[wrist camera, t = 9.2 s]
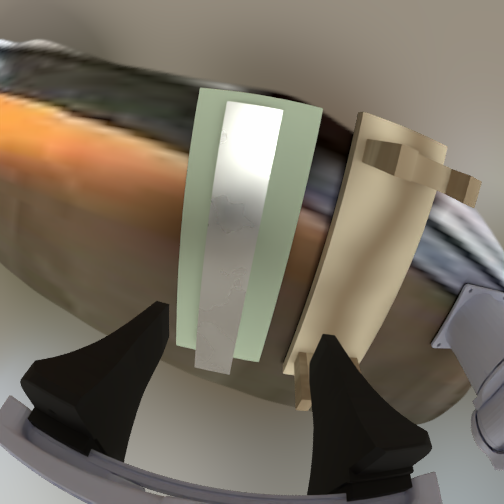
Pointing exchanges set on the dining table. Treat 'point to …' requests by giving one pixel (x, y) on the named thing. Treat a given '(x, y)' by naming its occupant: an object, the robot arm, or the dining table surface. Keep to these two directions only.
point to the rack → (371, 239)
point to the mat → (272, 221)
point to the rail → (233, 228)
